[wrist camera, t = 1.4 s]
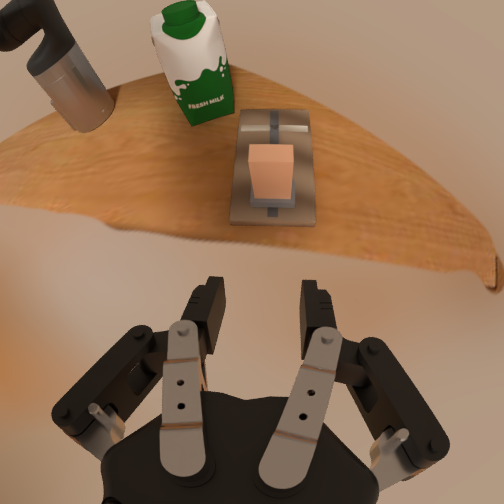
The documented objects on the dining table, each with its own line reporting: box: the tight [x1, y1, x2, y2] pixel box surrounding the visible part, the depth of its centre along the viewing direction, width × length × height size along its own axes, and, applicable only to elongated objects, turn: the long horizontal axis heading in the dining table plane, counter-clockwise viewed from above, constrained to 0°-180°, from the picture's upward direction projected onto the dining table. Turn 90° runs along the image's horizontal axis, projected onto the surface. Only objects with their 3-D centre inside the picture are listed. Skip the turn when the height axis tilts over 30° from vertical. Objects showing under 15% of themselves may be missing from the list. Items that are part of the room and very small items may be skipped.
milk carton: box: [150, 0, 234, 126], centre depth 30 cm, size 9×9×20 cm
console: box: [229, 109, 316, 227], centre depth 34 cm, size 18×10×2 cm, turn 177°
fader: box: [248, 144, 295, 208], centre depth 28 cm, size 3×5×8 cm, turn 87°
